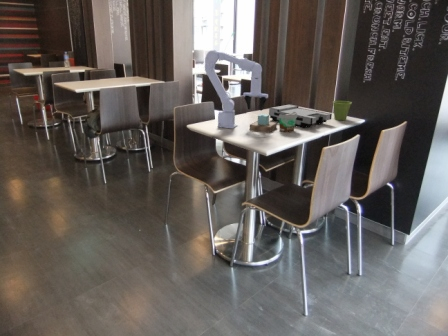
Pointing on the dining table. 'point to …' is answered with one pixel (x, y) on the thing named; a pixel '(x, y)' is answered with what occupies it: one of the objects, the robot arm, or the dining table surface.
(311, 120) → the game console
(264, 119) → the teal cube
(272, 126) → the walnut base
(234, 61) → the robot arm
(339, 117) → the plant pot
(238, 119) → the dining table surface
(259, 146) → the dining table surface
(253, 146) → the dining table surface
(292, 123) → the food container
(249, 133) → the dining table surface
